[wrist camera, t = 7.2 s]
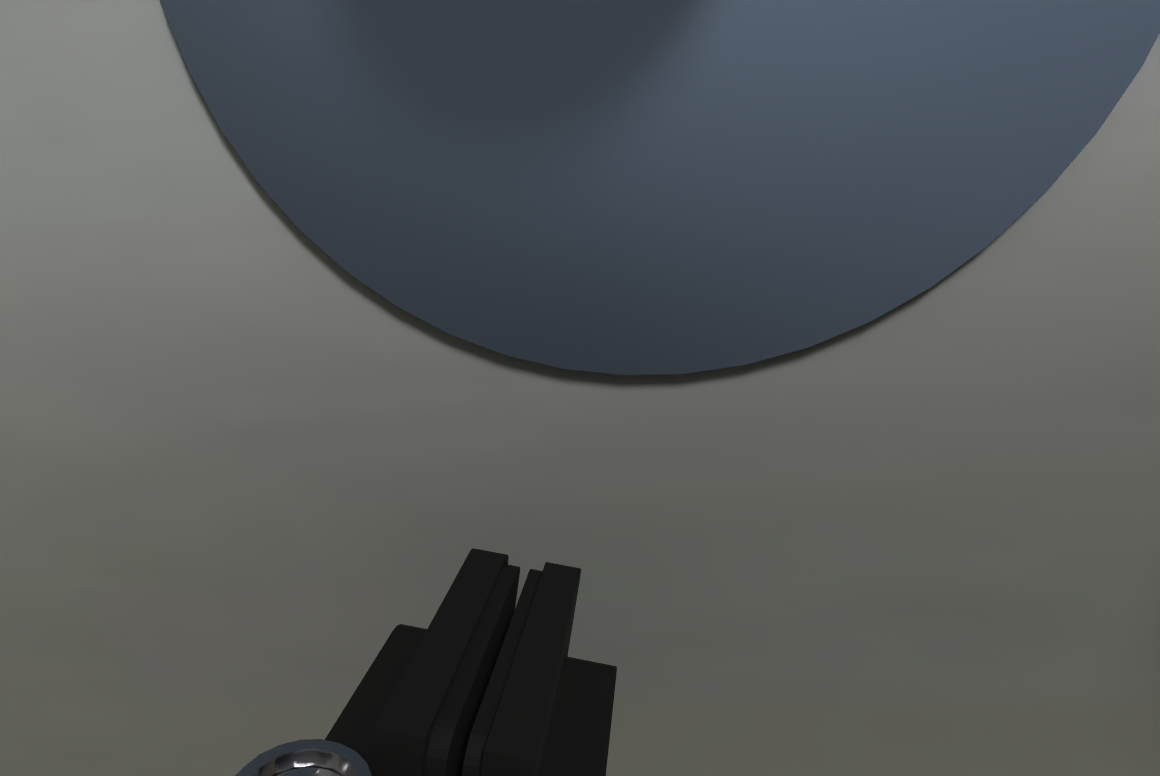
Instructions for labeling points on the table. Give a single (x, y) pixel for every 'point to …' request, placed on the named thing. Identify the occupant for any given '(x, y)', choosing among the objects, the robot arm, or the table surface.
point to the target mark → (657, 154)
